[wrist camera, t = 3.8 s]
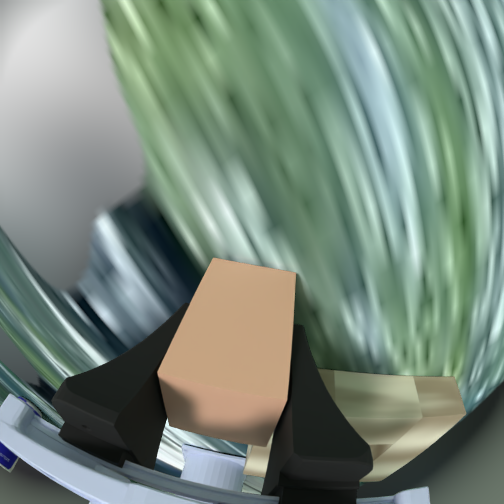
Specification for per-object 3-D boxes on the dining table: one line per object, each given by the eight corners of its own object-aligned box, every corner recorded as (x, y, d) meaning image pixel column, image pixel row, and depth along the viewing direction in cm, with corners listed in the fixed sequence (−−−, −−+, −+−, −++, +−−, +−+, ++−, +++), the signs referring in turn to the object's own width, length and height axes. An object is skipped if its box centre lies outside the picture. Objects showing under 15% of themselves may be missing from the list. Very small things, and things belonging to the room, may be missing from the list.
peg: (281, 332, 16) (266, 447, 10) (210, 318, 16) (169, 425, 10) (295, 272, 14) (286, 400, 8) (213, 257, 14) (157, 372, 8)
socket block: (379, 453, 24) (380, 480, 21) (248, 443, 25) (242, 473, 22) (454, 376, 17) (466, 413, 14) (272, 361, 18) (266, 407, 15)
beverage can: (47, 415, 37) (14, 476, 24) (37, 413, 39) (6, 469, 26) (24, 394, 35) (-13, 456, 22) (16, 394, 37) (-18, 450, 24)
